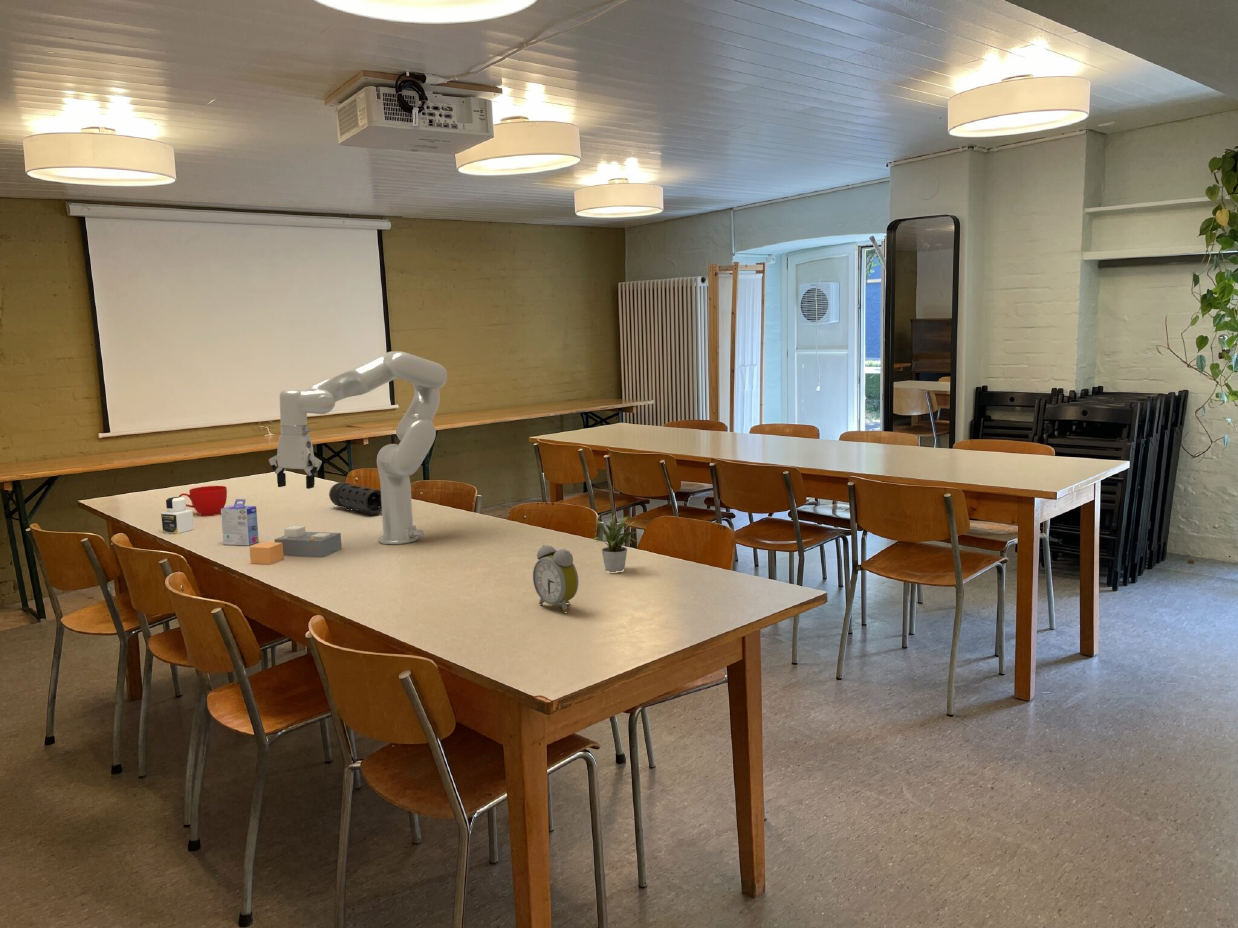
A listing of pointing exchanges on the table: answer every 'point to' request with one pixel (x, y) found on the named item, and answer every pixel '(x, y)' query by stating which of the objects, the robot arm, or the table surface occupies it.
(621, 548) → the house plant
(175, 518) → the medicine bottle
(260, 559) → the cap
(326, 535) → the block
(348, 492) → the muzzle brake
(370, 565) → the table surface
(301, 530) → the white cube
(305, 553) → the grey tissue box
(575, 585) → the alarm clock
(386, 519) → the robot arm
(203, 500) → the ceramic cup
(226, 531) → the ink cartridge box
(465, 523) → the table surface
